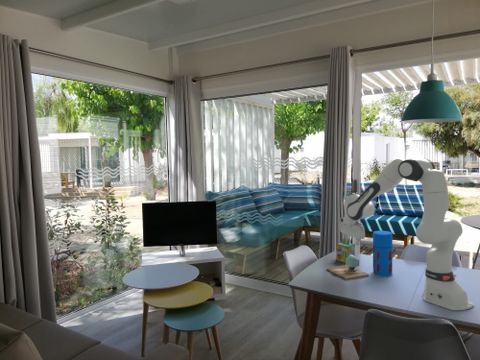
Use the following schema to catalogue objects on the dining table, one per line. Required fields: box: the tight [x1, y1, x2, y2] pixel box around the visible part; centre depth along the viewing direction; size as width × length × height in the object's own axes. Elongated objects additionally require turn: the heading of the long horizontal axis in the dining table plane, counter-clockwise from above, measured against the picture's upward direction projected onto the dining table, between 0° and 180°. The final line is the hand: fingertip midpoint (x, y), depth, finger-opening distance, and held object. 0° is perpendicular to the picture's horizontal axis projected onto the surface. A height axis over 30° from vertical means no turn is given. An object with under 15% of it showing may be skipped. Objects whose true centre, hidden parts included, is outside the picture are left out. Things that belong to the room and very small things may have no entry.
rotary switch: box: [345, 255, 360, 268], centre depth 228 cm, size 6×6×6 cm
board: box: [326, 264, 370, 281], centre depth 227 cm, size 20×17×2 cm
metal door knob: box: [348, 266, 358, 271], centre depth 228 cm, size 5×5×7 cm
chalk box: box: [335, 238, 356, 264], centre depth 251 cm, size 9×9×15 cm
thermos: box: [372, 230, 393, 278], centre depth 223 cm, size 11×11×25 cm
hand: (352, 243), depth 227 cm, fingers open, 8 cm apart
